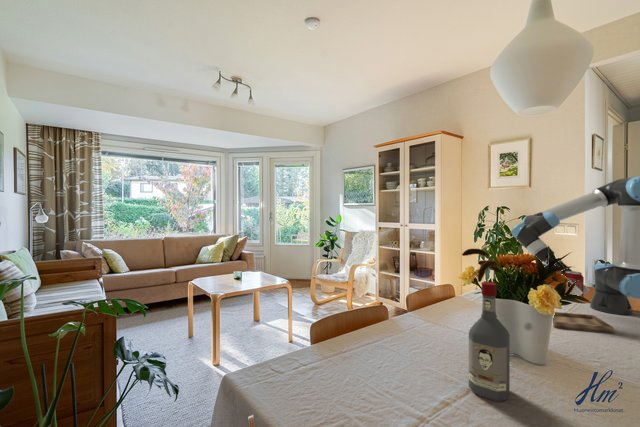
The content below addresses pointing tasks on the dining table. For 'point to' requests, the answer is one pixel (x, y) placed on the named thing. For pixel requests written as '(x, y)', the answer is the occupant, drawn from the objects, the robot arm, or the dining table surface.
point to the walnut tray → (580, 322)
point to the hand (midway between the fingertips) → (583, 293)
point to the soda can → (574, 277)
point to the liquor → (489, 350)
